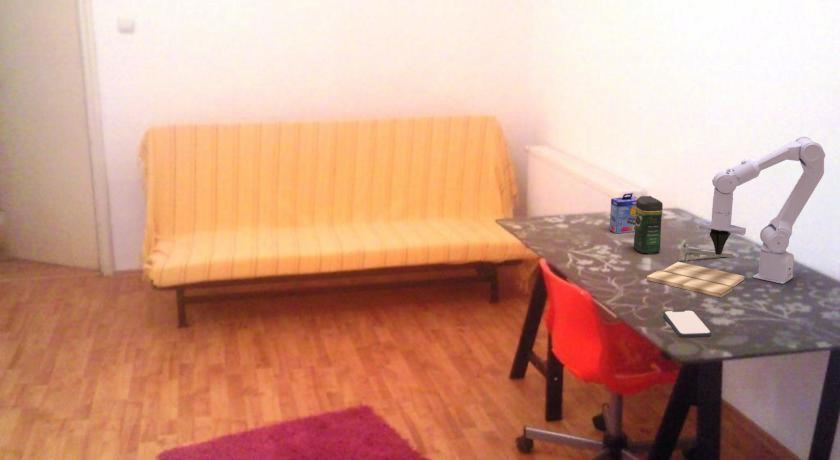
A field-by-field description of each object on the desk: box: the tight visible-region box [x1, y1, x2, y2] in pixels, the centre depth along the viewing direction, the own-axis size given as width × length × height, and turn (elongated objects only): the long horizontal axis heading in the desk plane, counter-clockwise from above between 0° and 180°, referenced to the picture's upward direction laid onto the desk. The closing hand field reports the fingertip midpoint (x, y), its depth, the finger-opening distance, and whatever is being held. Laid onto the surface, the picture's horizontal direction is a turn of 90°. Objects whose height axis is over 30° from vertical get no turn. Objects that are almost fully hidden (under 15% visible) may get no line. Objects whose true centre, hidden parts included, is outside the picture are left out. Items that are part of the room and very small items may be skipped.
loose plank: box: [663, 261, 745, 288], centre depth 276 cm, size 22×10×1 cm, turn 47°
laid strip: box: [646, 269, 734, 298], centre depth 269 cm, size 24×8×1 cm, turn 47°
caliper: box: [678, 243, 737, 263], centre depth 293 cm, size 20×1×6 cm, turn 103°
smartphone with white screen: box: [662, 309, 713, 338], centre depth 239 cm, size 9×2×16 cm
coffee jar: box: [633, 195, 664, 255], centre depth 301 cm, size 10×8×19 cm
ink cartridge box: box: [609, 192, 639, 234], centre depth 325 cm, size 10×6×14 cm, turn 107°
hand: (718, 253), depth 275 cm, fingers closed
